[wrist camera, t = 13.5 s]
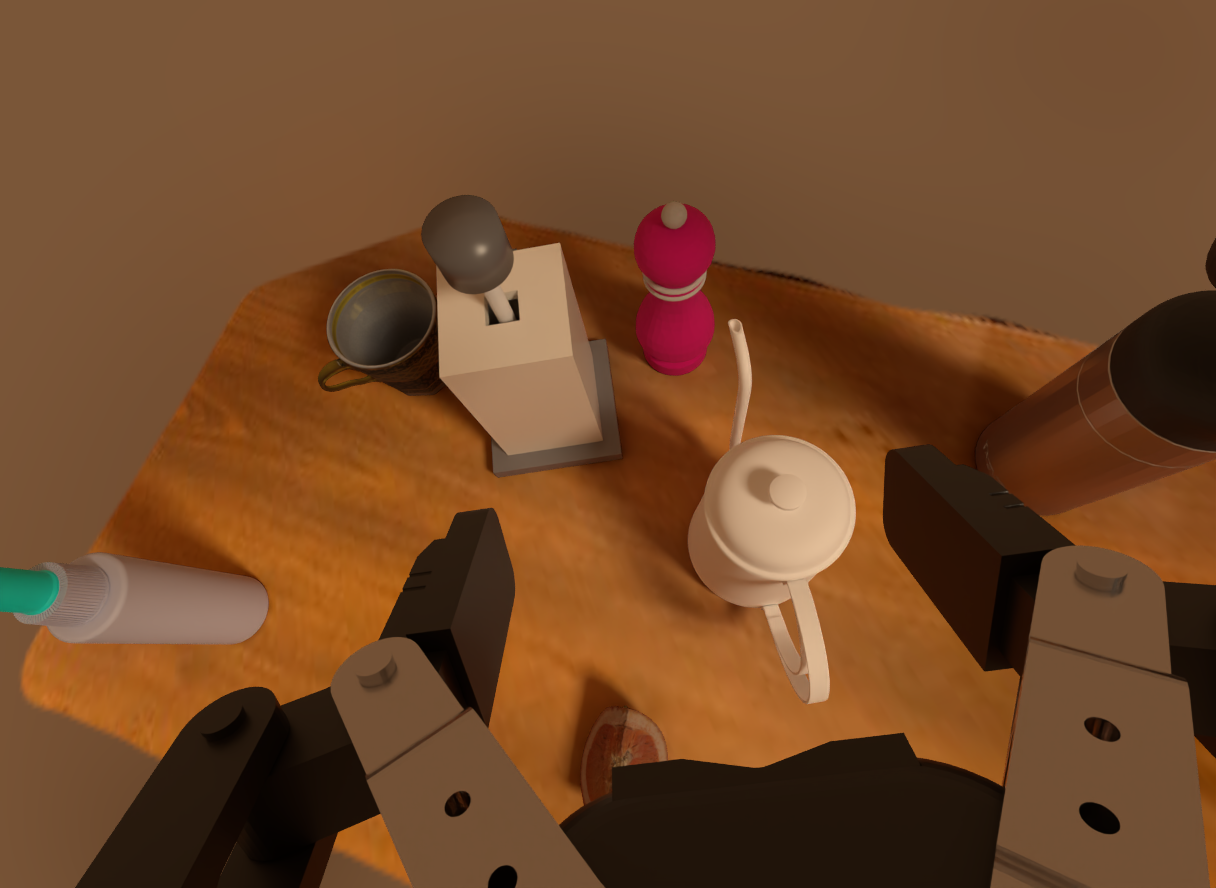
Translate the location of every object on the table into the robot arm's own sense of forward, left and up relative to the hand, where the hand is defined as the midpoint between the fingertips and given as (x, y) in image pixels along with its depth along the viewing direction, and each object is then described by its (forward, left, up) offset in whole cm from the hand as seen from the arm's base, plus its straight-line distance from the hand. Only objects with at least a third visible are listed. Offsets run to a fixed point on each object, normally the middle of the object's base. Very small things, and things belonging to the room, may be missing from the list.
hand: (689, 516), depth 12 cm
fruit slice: (+6, +10, -41) cm, 43 cm away
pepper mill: (-4, -25, -41) cm, 48 cm away
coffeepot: (-7, -6, -41) cm, 42 cm away
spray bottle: (+40, -6, -41) cm, 57 cm away
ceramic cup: (+23, -27, -41) cm, 54 cm away
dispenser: (+9, -21, -41) cm, 47 cm away
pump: (+9, -21, -34) cm, 41 cm away
